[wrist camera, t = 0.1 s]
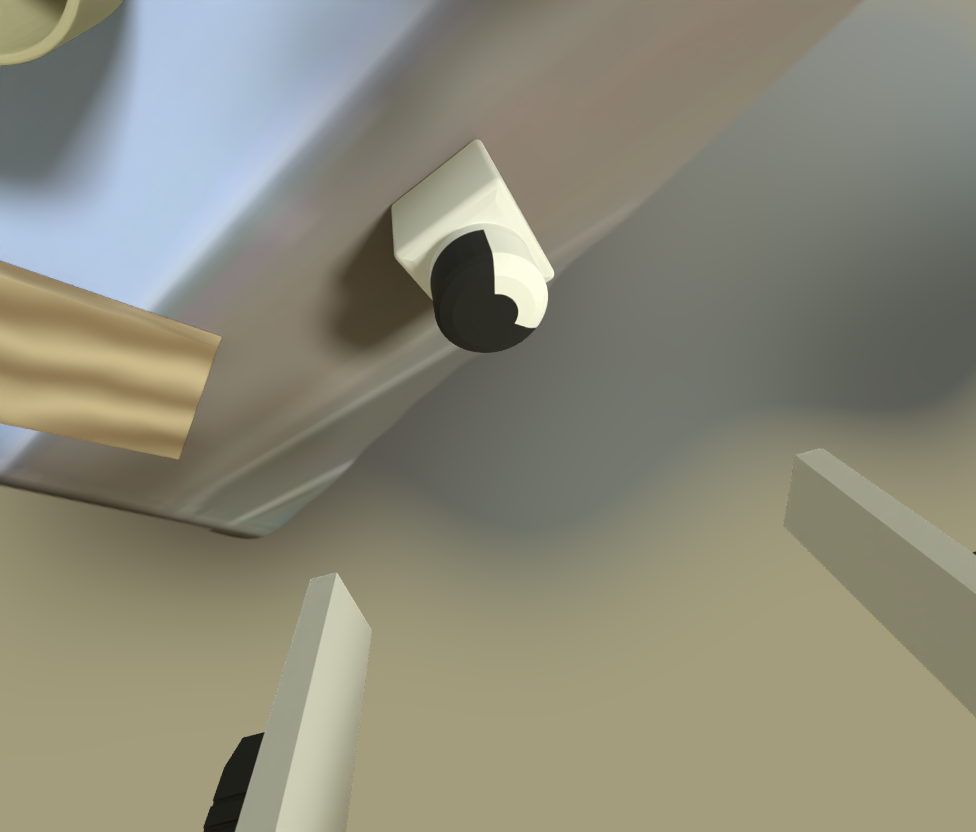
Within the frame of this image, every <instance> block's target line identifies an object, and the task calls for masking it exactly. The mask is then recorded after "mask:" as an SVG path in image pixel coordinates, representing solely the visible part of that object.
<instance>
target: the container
mask: <svg viewBox="0 0 976 832" xmlns="http://www.w3.org/2000/svg"><path fill="white" fill-rule="evenodd" d="M391 211H392V227H393V242H394V256H395V258H396V260H397V261H398V262H399V263H400V264H401V265H402V266H403V268H404V269H405V270H406V271H407V272H408V273H409V274H410V275H411V277H412V278H413V279H414V280H415V281H416V282H417V283H418V285H419V286H420V287H421V288H422V289H423V290H424V291H425V292H426V294H427V295H428V296H429V297H430V298H431V299H432V300H433V306H434V312H435V318H436V321H437V324H438V326H439V328H440V330H441V332H442V333H443V334H444V336H445V337H446V338H447V339H448V340H449V341H451V342H452V343H453V344H455V345H457V346H458V347H460V348H463V349H465V350H469V351H473V352H481V353H491V352H498V351H502V350H505V349H508V348H510V347H513V346H515V345H517V344H518V343H520V342H522V341H523V340H524V339H525V338H527V337H528V336H529V335H530V334H531V333H532V332H533V331H534V330H535V329H536V327H537V326H538V325H539V323H540V322H541V320H542V318H543V316H544V313H545V310H546V307H547V301H548V292H547V286H546V282H548V281H549V280H551V279H552V278H553V277H554V271H553V269H552V267H551V265H550V263H549V261H548V260H547V258H546V256H545V254H544V252H543V250H542V249H541V247H540V245H539V243H538V241H537V239H536V238H535V236H534V234H533V232H532V230H531V228H530V227H529V225H528V223H527V221H526V219H525V218H524V216H523V214H522V212H521V211H520V209H519V207H518V205H517V204H516V202H515V200H514V198H513V197H512V195H511V193H510V191H509V189H508V188H507V186H506V184H505V182H504V181H503V179H502V177H501V175H500V174H499V172H498V170H497V168H496V166H495V165H494V163H493V161H492V159H491V158H490V156H489V154H488V152H487V151H486V149H485V147H484V145H483V144H482V142H481V141H480V140H477V139H476V140H474V141H472V142H471V143H470V144H468V145H467V146H466V147H465V148H463V149H462V150H461V151H460V152H458V153H457V154H456V155H455V156H453V157H452V158H451V159H449V160H448V161H447V162H446V163H444V164H443V165H442V166H441V167H439V168H438V169H437V170H436V171H434V172H433V173H432V174H430V175H429V176H428V177H427V178H425V179H424V180H423V181H422V182H420V183H419V184H418V185H417V186H415V187H414V188H413V189H411V190H410V191H409V192H408V193H406V194H405V195H404V196H403V197H401V198H400V199H399V200H398V201H396V202H395V203H394V204H393V205H392V208H391Z"/></svg>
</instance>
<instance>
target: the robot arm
mask: <svg viewBox="0 0 976 832" xmlns="http://www.w3.org/2000/svg"><path fill="white" fill-rule="evenodd" d="M784 527H785V528H786V529H787V530H788V531H789V532H790V533H791V534H792V535H793V536H794V537H795V538H796V539H797V540H798V541H799V542H800V543H801V544H802V545H803V546H804V547H805V548H806V549H807V550H808V551H809V552H810V553H811V554H812V555H813V556H814V557H815V558H816V559H817V560H818V561H819V562H820V563H821V564H822V565H823V566H824V567H825V568H826V569H827V570H828V571H829V572H830V573H831V574H832V575H833V576H834V577H835V578H836V579H837V580H838V581H839V582H840V583H841V584H842V585H843V586H844V587H845V588H846V589H847V590H848V591H849V592H850V593H851V594H852V595H854V597H855V598H856V599H857V600H858V601H859V602H860V603H861V604H862V605H863V606H864V607H865V608H866V609H867V610H868V611H869V612H870V613H872V615H873V616H874V617H875V618H876V619H877V620H878V621H880V622H881V624H882V625H884V627H885V628H887V630H888V631H889V632H891V634H892V635H894V636H895V638H896V639H898V641H900V642H901V644H902V645H903V646H905V647H906V649H907V650H909V651H910V652H911V653H912V654H913V655H914V656H915V657H916V658H917V659H918V660H919V661H920V662H921V663H922V664H923V665H924V666H925V667H926V668H927V669H928V670H929V671H930V672H931V673H932V674H933V675H934V676H935V677H936V678H937V679H938V680H939V681H940V682H941V683H942V684H943V685H944V686H945V687H946V688H947V689H948V690H949V691H950V692H951V693H952V694H953V695H954V696H955V697H956V698H957V699H958V700H959V701H960V702H961V703H962V704H963V705H964V706H965V707H966V708H967V709H968V710H969V711H970V712H971V713H972V714H973V715H974V716H975V717H976V552H973V553H972V552H970V551H969V550H968V549H966V548H965V547H963V546H962V545H960V544H959V543H958V542H956V541H955V540H953V539H952V538H950V537H949V536H948V535H946V534H944V533H943V532H942V531H940V530H939V529H937V528H936V527H935V526H933V525H932V524H930V523H929V522H927V521H926V520H925V519H923V518H922V517H920V516H919V515H917V514H916V513H915V512H913V511H912V510H910V509H909V508H907V507H906V506H905V505H903V504H902V503H900V502H899V501H897V500H896V499H894V498H893V497H892V496H890V495H889V494H887V493H886V492H884V491H883V490H882V489H880V488H879V487H877V486H876V485H874V484H873V483H872V482H870V481H869V480H867V479H866V478H864V477H863V476H862V475H860V474H859V473H857V472H856V471H854V470H853V469H851V468H850V467H849V466H847V465H846V464H844V463H843V462H841V461H840V460H839V459H837V458H836V457H834V456H833V455H831V454H830V453H828V452H827V451H826V450H824V449H823V448H820V449H816V450H812V451H808V452H804V453H801V454H796V455H795V457H794V464H793V470H792V476H791V482H790V490H789V495H788V501H787V507H786V514H785V520H784ZM371 634H372V630H371V628H370V627H369V625H368V623H367V622H366V620H365V619H364V617H363V615H362V613H361V612H360V610H359V608H358V607H357V605H356V604H355V602H354V600H353V598H352V597H351V595H350V594H349V592H348V590H347V589H346V587H345V585H344V584H343V582H342V580H341V579H340V577H339V575H338V574H337V573H332V574H329V575H325V576H320V577H317V578H313V579H310V582H309V586H308V589H307V592H306V596H305V599H304V603H303V606H302V609H301V612H300V616H299V619H298V623H297V626H296V629H295V632H294V636H293V639H292V643H291V646H290V649H289V653H288V656H287V659H286V663H285V666H284V669H283V673H282V676H281V680H280V683H279V686H278V689H277V693H276V696H275V699H274V703H273V706H272V709H271V713H270V716H269V720H268V723H267V726H266V730H265V732H264V733H260V734H256V735H252V736H248V737H244V738H242V740H241V742H240V743H239V745H238V747H237V748H236V750H235V751H234V753H233V754H232V756H231V758H230V759H229V761H228V762H227V764H226V766H225V767H224V770H223V773H222V776H221V778H220V782H219V784H218V787H217V790H216V793H215V796H214V799H213V801H214V803H213V806H212V807H210V810H209V813H208V816H207V819H206V821H205V824H204V827H203V828H204V832H346V827H347V819H348V812H349V804H350V796H351V788H352V781H353V773H354V766H355V758H356V749H357V742H358V734H359V726H360V719H361V712H362V704H363V695H364V688H365V681H366V673H367V665H368V657H369V650H370V642H371Z"/></svg>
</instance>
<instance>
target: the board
mask: <svg viewBox="0 0 976 832" xmlns="http://www.w3.org/2000/svg"><path fill="white" fill-rule="evenodd" d="M220 340H221V336H218V335H215V334H212V333H209V332H206V331H203V330H200V329H197V328H194V327H191V326H189V325H186V324H183V323H180V322H177V321H174V320H171V319H168V318H165V317H162V316H160V315H157V314H154V313H151V312H148V311H145V310H142V309H139V308H136V307H133V306H130V305H128V304H125V303H122V302H119V301H116V300H113V299H110V298H107V297H104V296H101V295H98V294H96V293H93V292H90V291H87V290H84V289H81V288H78V287H75V286H72V285H69V284H66V283H64V282H61V281H58V280H55V279H52V278H49V277H46V276H43V275H40V274H37V273H35V272H32V271H29V270H26V269H23V268H20V267H17V266H14V265H11V264H8V263H5V262H3V261H0V423H1V424H6V425H11V426H16V427H21V428H26V429H31V430H36V431H41V432H46V433H51V434H56V435H61V436H66V437H71V438H76V439H80V440H85V441H90V442H95V443H100V444H105V445H110V446H115V447H120V448H125V449H130V450H135V451H140V452H145V453H150V454H155V455H160V456H165V457H170V458H175V459H179V457H180V455H181V452H182V449H183V447H184V444H185V441H186V438H187V435H188V432H189V429H190V427H191V424H192V421H193V418H194V415H195V412H196V409H197V406H198V403H199V401H200V398H201V395H202V392H203V389H204V386H205V383H206V380H207V378H208V375H209V372H210V369H211V366H212V363H213V360H214V357H215V355H216V352H217V349H218V346H219V343H220Z"/></svg>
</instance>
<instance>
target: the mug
mask: <svg viewBox="0 0 976 832" xmlns="http://www.w3.org/2000/svg"><path fill="white" fill-rule="evenodd" d="M123 1H124V0H0V66H4V65H15V64H21V63H26V62H29V61H33V60H35V59H38V58H41V57H42V56H44V55H46V54H48V53H50V52H51V51H53V50H55V49H57V48H58V47H60V46H62V45H63V44H65V43H67V42H69V41H70V40H72V39H74V38H75V37H77V36H79V35H81V34H82V33H84V32H86V31H87V30H89V29H91V28H93V27H94V26H96V25H97V24H99V23H100V22H102V21H103V20H104V19H106V18H107V17H108V16H109V15H111V14H112V13H113V12H114V11H115V10H116V9H117V8H118V7H119V6H120V4H121V3H122V2H123Z"/></svg>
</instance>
